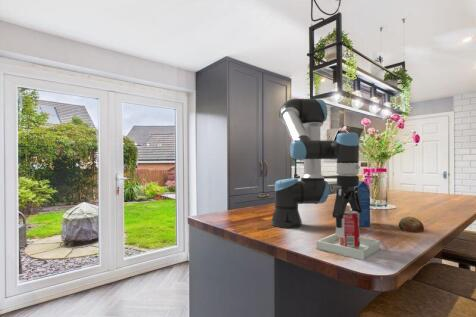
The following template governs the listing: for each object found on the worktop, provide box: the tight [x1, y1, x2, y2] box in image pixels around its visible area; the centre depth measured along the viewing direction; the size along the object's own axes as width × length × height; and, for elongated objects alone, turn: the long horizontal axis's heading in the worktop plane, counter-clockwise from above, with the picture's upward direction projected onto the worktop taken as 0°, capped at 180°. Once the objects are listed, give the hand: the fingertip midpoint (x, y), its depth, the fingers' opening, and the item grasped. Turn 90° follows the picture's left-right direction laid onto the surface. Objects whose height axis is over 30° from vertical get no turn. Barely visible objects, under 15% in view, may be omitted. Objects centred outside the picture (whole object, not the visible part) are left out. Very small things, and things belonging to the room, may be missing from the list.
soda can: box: [339, 209, 361, 249], centre depth 102 cm, size 7×7×13 cm
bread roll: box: [398, 216, 425, 233], centre depth 130 cm, size 10×10×8 cm
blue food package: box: [354, 174, 371, 228], centre depth 142 cm, size 6×12×25 cm, turn 168°
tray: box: [315, 232, 381, 261], centre depth 101 cm, size 17×17×3 cm
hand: (348, 233), depth 102 cm, fingers open, 13 cm apart
